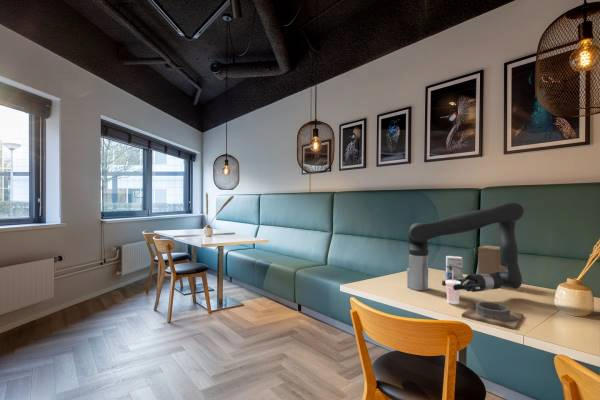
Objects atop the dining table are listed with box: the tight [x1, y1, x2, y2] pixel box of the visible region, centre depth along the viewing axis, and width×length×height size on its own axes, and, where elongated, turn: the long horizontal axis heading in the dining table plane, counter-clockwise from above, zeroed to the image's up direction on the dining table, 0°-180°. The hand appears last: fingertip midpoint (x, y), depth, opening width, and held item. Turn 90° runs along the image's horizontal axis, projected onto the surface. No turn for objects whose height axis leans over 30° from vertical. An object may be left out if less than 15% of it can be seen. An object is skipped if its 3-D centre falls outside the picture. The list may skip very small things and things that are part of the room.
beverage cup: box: [445, 270, 461, 305], centre depth 135 cm, size 6×6×14 cm
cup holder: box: [461, 301, 524, 330], centre depth 120 cm, size 17×17×4 cm
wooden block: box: [477, 245, 507, 274], centre depth 166 cm, size 10×10×20 cm
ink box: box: [445, 255, 464, 279], centre depth 182 cm, size 9×5×12 cm, turn 71°
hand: (448, 285), depth 134 cm, fingers closed on beverage cup, 6 cm apart
